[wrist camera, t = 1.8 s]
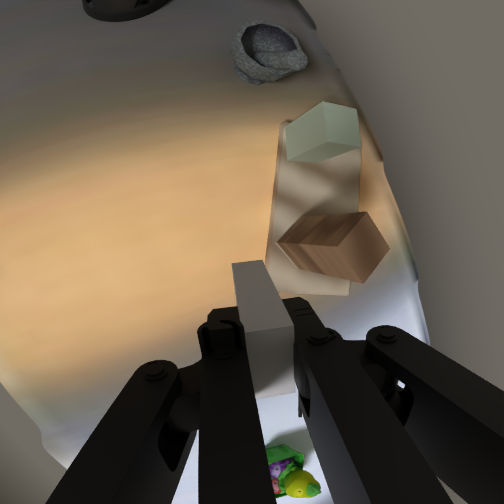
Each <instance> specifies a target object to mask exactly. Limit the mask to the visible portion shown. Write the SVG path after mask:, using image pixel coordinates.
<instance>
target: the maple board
mask: <svg viewBox="0 0 504 504" xmlns="http://www.w3.org/2000/svg"><path fill="white" fill-rule="evenodd" d="M289 124H290V122H286V121H284V122H283V123H281V124H280V132H279V141H278V151H277V161H276V170H275V179H274V188H273V197H272V206H271V215H270V224H269V233H268V241H267V250H266V259H265V267H266V269H267V271H268V273H269V275H270V277H271V279H272V281H273V283H274V285H275V287H276V289H277V291H278V293H298V294H322V295H348V293H349V286H350V280H345V279H341V278H336V277H332V276H328V275H323V274H319V273H314V272H310V271H306V270H301V269H297V267H296V266H295V265H294V264H293V263H292V262H291V260H290V259H289V258H288V257H287V256H286V254H285V253H284V252H283V251H282V250H281V249H280V247H279V246H278V245H277V244H276V243H275V242H276V241H277V240H278V239H279V238H280V237H281V236H282V235H283V234H284V233H285V232H286V231H287V230H288V229H289V227H290V226H291V225H292V224H293V223H294V222H295V221H296V220H297V219H298V218H299V217H308V216H319V215H331V214H342V213H355V212H358V202H359V187H360V166H361V147H360V148H357V149H355V150H352V151H349V152H346V153H343V154H341V155H338V156H335V157H332V158H329V159H327V160H324V161H321V162H319V163H314V162H302V161H287V150H286V136H285V127H286V126H287V125H289Z"/></svg>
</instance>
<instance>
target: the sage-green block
mask: <svg viewBox="0 0 504 504" xmlns="http://www.w3.org/2000/svg"><path fill="white" fill-rule="evenodd" d="M285 136H286V150H287V161H302V162H314V163H319V162H321V161H324V160H327V159H329V158H332V157H335V156H338V155H341V154H343V153H346V152H349V151H352V150H355V149H357V148H360V147H362V146H361V137H360V130H359V123H358V116H357V109H354V108H350V107H346V106H342V105H337V104H333V103H328V102H323V101H322V102H321V103H319V104H318V105H316V106H315V107H313V108H312V109H310V110H309V111H307V112H306V113H304V114H303V115H302V116H300V117H299V118H297V119H296V120H294V121H293V122H291V123H290V124H289V125H287V126H286V127H285Z"/></svg>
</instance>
